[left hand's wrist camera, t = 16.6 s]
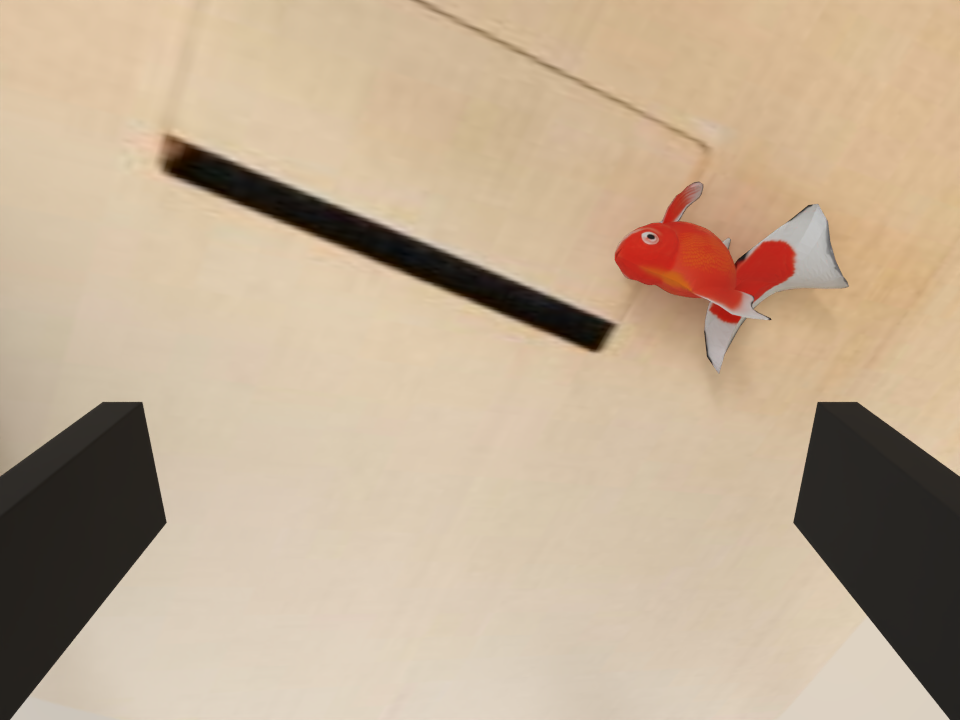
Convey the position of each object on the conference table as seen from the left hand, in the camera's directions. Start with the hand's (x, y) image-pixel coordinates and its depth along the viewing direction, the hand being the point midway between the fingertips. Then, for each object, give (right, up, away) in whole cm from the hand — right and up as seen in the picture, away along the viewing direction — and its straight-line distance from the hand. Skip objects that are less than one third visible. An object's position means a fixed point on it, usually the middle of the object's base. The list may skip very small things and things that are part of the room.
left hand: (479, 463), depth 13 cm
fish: (+16, +9, +30) cm, 35 cm away
